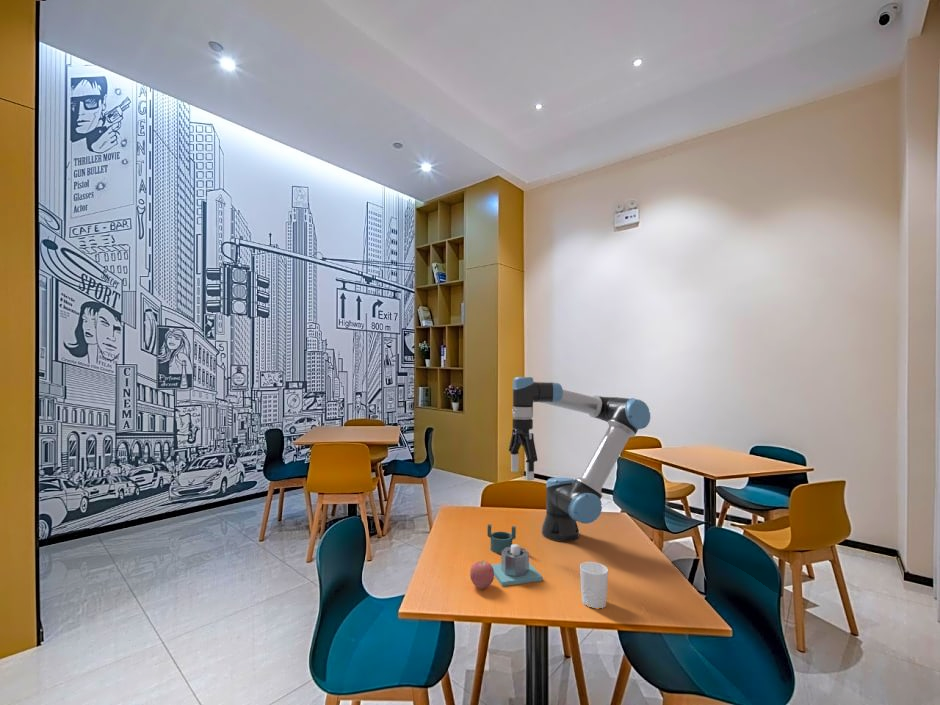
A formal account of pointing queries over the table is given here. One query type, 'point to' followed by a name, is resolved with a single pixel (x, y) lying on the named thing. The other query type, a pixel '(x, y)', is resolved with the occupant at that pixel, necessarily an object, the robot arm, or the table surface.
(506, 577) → the stand
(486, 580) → the apple
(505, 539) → the bracket
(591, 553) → the table surface
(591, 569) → the white cup
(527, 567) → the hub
